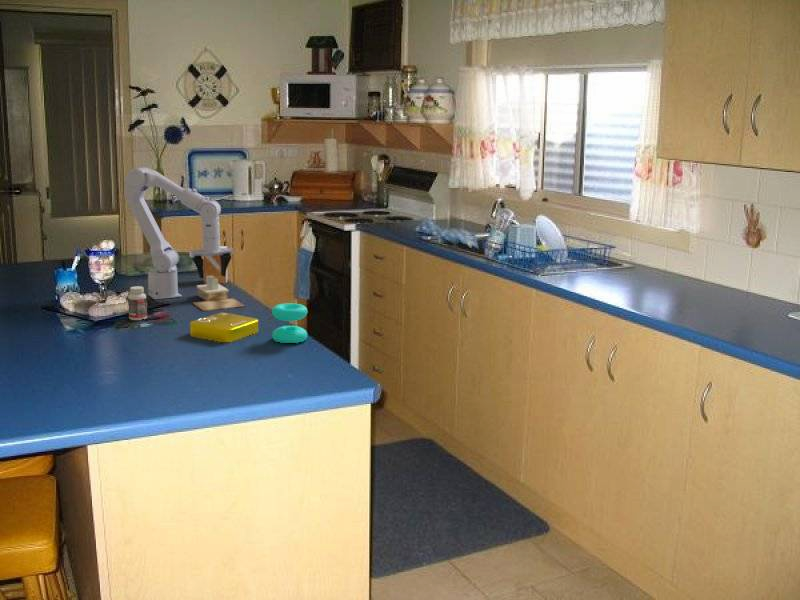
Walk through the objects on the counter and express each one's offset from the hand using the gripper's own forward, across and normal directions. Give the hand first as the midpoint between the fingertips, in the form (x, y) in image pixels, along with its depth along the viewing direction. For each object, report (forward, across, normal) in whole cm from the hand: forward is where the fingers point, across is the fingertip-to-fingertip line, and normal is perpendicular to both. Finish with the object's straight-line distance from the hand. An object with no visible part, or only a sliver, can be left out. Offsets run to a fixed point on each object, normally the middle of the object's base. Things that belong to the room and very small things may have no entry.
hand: (212, 276), depth 285 cm
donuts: (+8, +3, -57) cm, 58 cm away
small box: (+8, +9, +23) cm, 26 cm away
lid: (+4, 0, 0) cm, 4 cm away
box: (+7, 0, 0) cm, 7 cm away
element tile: (+8, -11, -43) cm, 45 cm away
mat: (+7, -2, -10) cm, 13 cm away
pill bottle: (+8, -29, -16) cm, 34 cm away
